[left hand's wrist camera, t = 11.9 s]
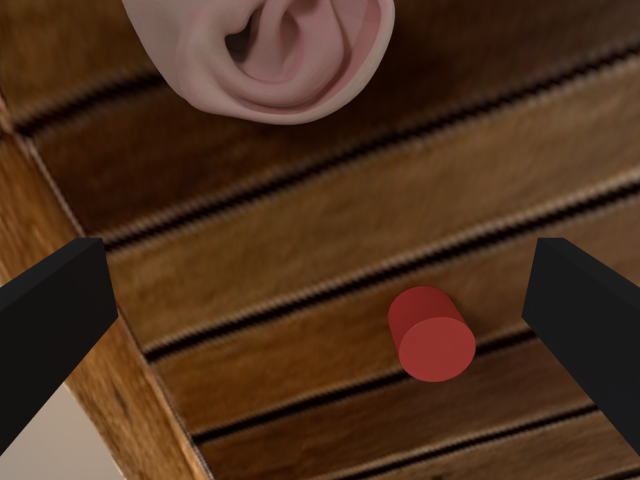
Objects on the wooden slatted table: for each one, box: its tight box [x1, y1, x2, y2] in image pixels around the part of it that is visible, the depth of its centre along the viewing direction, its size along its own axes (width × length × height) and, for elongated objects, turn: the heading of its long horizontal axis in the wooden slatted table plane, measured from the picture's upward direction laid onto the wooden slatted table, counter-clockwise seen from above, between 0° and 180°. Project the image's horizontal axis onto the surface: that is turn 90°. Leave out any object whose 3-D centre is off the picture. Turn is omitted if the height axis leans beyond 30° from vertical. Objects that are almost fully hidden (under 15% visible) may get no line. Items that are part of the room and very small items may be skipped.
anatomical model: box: [122, 0, 395, 125], centre depth 20 cm, size 13×4×12 cm
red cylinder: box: [388, 286, 476, 382], centre depth 27 cm, size 5×5×4 cm
